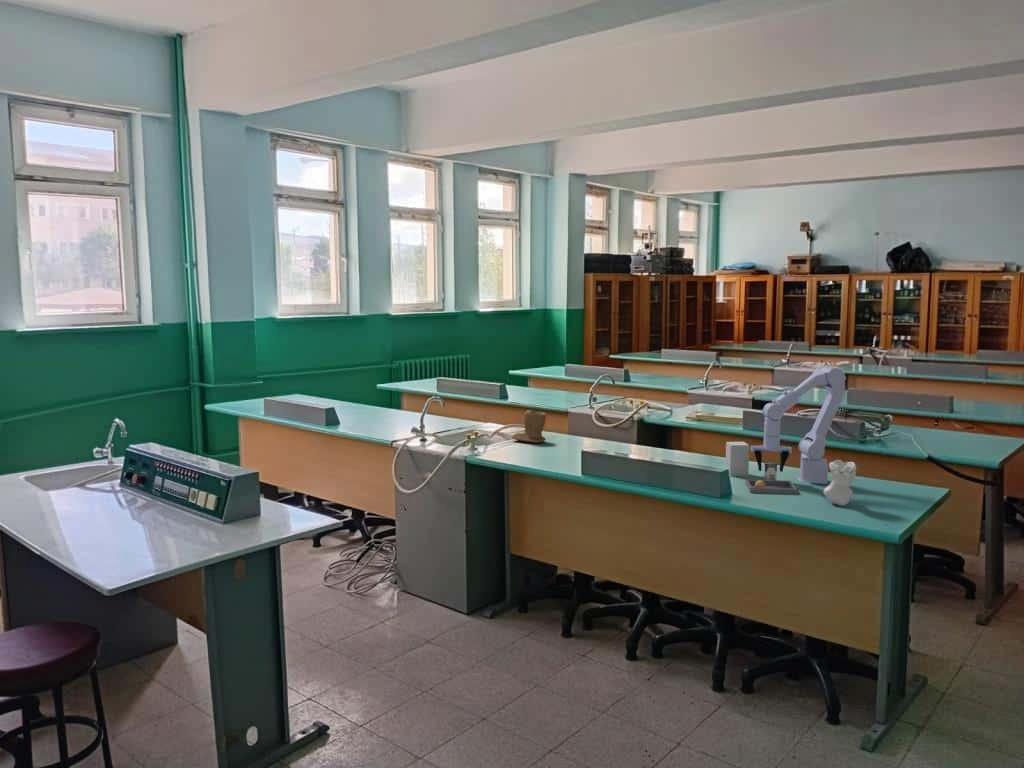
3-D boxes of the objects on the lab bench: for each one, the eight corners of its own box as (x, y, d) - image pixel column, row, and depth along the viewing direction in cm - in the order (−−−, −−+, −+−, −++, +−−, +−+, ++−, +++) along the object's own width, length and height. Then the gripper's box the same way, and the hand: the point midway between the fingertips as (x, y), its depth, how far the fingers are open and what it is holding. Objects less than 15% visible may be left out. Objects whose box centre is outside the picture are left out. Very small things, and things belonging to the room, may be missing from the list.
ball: (764, 488, 286) (764, 479, 285) (765, 491, 282) (766, 482, 282) (754, 488, 286) (754, 479, 286) (755, 491, 283) (755, 481, 282)
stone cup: (551, 441, 377) (551, 410, 375) (536, 445, 367) (536, 413, 365) (525, 437, 386) (525, 407, 384) (511, 441, 376) (510, 410, 374)
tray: (790, 486, 290) (790, 480, 290) (796, 495, 279) (797, 489, 278) (745, 485, 293) (745, 479, 293) (750, 494, 281) (750, 488, 281)
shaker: (775, 480, 299) (776, 462, 298) (777, 483, 295) (778, 465, 294) (762, 480, 300) (763, 462, 299) (765, 483, 295) (765, 465, 294)
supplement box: (748, 477, 305) (749, 445, 303) (729, 477, 305) (730, 445, 303) (743, 472, 312) (744, 441, 311) (724, 472, 312) (725, 441, 311)
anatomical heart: (847, 500, 272) (849, 457, 270) (862, 509, 261) (864, 465, 259) (819, 500, 272) (821, 458, 270) (833, 510, 260) (835, 466, 259)
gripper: (753, 436, 292) (752, 472, 294) (794, 437, 290) (792, 473, 292) (750, 433, 299) (749, 468, 301) (790, 434, 297) (788, 469, 299)
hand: (770, 470), depth 297 cm, fingers open, 7 cm apart
